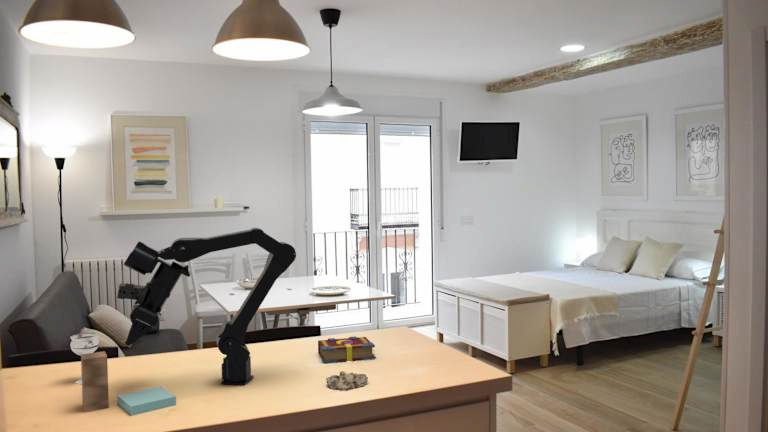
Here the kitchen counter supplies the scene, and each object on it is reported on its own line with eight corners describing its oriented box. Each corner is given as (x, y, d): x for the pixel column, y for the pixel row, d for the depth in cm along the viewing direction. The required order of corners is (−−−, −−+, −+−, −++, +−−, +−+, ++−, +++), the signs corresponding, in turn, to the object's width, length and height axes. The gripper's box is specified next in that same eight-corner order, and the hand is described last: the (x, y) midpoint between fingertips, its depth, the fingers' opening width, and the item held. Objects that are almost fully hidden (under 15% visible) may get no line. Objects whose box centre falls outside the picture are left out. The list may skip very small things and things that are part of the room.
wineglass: (71, 379, 159) (69, 334, 159) (99, 375, 163) (97, 331, 162) (72, 386, 154) (70, 340, 153) (101, 382, 157) (99, 336, 156)
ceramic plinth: (160, 396, 147) (160, 386, 147) (176, 407, 139) (175, 396, 139) (117, 405, 140) (117, 395, 140) (131, 417, 133) (130, 406, 133)
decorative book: (317, 354, 182) (317, 338, 181) (369, 350, 186) (369, 334, 186) (323, 364, 171) (323, 347, 170) (378, 360, 175) (378, 342, 175)
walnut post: (106, 401, 142) (104, 351, 142) (108, 407, 138) (107, 356, 137) (82, 405, 140) (80, 354, 139) (84, 412, 135) (82, 359, 135)
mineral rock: (329, 384, 146) (324, 366, 153) (328, 399, 147) (323, 381, 155) (372, 382, 149) (365, 364, 156) (371, 397, 150) (364, 379, 157)
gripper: (133, 264, 155) (101, 318, 153) (128, 273, 138) (91, 334, 136) (173, 284, 159) (142, 337, 157) (173, 295, 141) (138, 355, 139)
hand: (128, 340), depth 147 cm, fingers open, 9 cm apart
